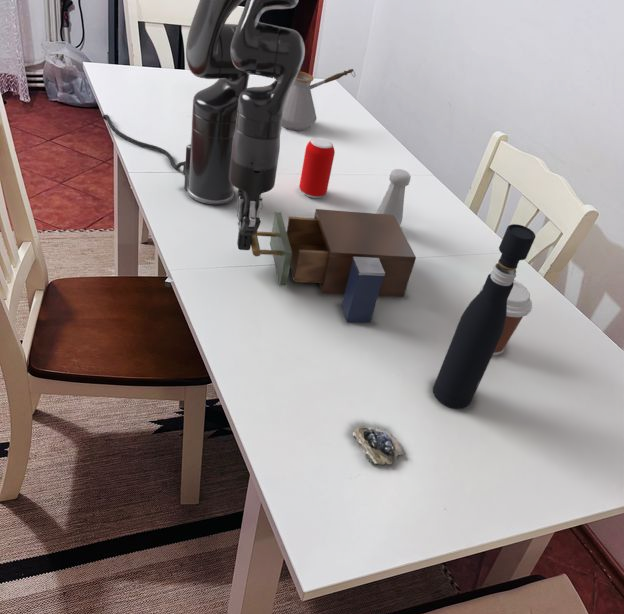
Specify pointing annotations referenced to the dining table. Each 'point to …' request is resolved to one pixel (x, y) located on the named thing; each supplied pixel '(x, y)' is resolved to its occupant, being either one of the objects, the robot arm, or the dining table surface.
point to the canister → (362, 289)
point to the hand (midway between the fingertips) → (243, 247)
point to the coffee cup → (514, 313)
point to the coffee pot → (303, 101)
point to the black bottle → (481, 324)
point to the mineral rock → (378, 444)
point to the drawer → (295, 249)
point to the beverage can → (317, 167)
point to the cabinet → (364, 249)
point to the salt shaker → (395, 195)
